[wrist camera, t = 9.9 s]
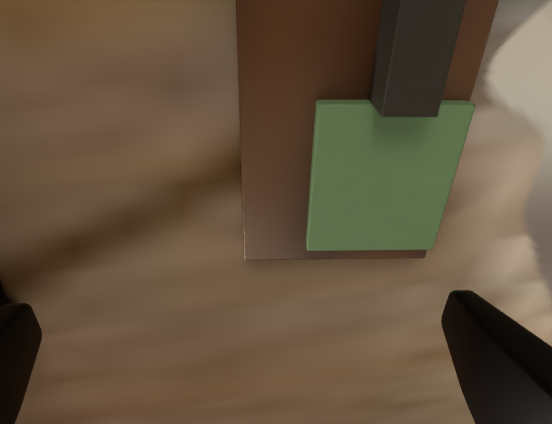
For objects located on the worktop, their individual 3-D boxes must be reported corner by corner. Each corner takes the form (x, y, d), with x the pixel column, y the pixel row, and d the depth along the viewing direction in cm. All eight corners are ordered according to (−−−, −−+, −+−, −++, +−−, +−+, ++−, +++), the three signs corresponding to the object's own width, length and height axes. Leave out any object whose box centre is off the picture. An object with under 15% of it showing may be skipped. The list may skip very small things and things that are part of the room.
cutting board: (245, 241, 21) (244, 260, 20) (225, -399, 10) (221, -447, 9) (415, 240, 21) (424, 258, 20) (578, -379, 10) (621, -422, 9)
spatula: (428, 242, 20) (444, 269, 18) (305, 243, 19) (309, 271, 18) (581, -291, 10) (643, -335, 9) (345, -302, 10) (363, -351, 8)
